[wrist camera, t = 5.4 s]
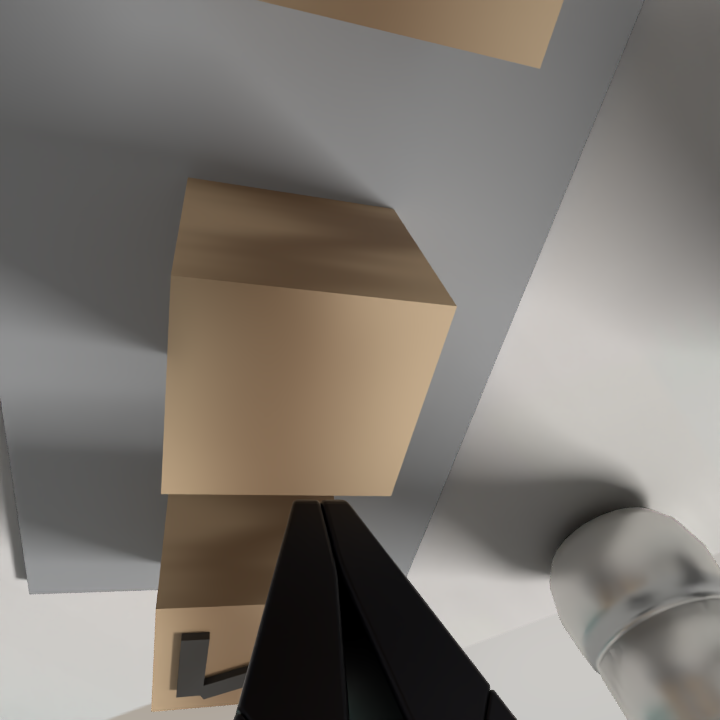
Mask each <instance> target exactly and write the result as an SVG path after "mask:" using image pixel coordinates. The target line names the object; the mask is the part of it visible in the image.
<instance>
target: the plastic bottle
mask: <svg viewBox="0 0 720 720" xmlns="http://www.w3.org/2000/svg"><path fill="white" fill-rule="evenodd" d="M550 590H551V593H552V596H553V599H554V602H555V606H556V609H557V612H558V615H559V618H560V620H561V622H562V624H563V626H564V628H565V629H566V631H567V632H568V634H569V635H570V637H571V638H572V640H573V641H574V643H575V644H576V646H577V647H578V649H579V650H580V652H581V653H582V655H583V656H584V657H585V658H586V660H587V661H588V662H589V663H590V665H591V666H592V667H593V668H594V670H595V671H596V672H598V673H599V674H600V675H601V677H602V679H603V681H604V682H605V684H606V686H607V687H608V689H609V691H610V692H611V694H612V696H613V697H614V699H615V700H616V702H617V704H618V705H619V707H620V709H621V710H622V712H623V713H624V715H625V716H626V718H627V720H720V568H719V566H718V565H717V563H716V561H715V560H714V558H713V557H712V555H711V553H710V552H709V550H708V549H707V547H706V546H705V545H704V544H703V543H702V542H701V541H700V540H699V539H698V538H697V537H696V536H694V535H693V534H692V533H691V532H690V531H689V530H688V529H687V528H685V527H684V526H683V525H682V524H681V523H680V522H679V521H677V520H676V519H675V518H673V517H671V516H668V515H665V514H662V513H659V512H656V511H654V510H651V509H648V508H641V507H632V508H624V509H619V510H615V511H612V512H609V513H606V514H603V515H601V516H599V517H597V518H594V519H592V520H591V521H589V522H587V523H586V524H584V525H582V526H581V527H579V528H578V529H577V530H576V531H574V532H573V533H572V534H571V535H570V536H569V537H568V538H567V539H566V540H565V541H564V542H563V543H562V544H561V545H560V547H559V548H558V549H557V551H556V553H555V555H554V557H553V561H552V566H551V574H550Z"/></svg>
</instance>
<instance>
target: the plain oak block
mask: <svg viewBox="0 0 720 720" xmlns="http://www.w3.org/2000/svg"><path fill="white" fill-rule="evenodd" d="M456 308H457V305H456V304H455V302H454V301H453V299H452V298H451V296H450V295H449V293H448V292H447V290H446V289H445V287H444V285H443V284H442V282H441V281H440V279H439V278H438V276H437V275H436V273H435V272H434V270H433V269H432V267H431V266H430V264H429V262H428V261H427V259H426V258H425V256H424V255H423V253H422V252H421V250H420V249H419V247H418V246H417V244H416V242H415V241H414V239H413V238H412V236H411V235H410V233H409V232H408V230H407V229H406V227H405V226H404V224H403V222H402V221H401V219H400V218H399V216H398V215H397V213H396V212H395V210H394V209H391V208H384V207H378V206H371V205H365V204H358V203H352V202H345V201H339V200H332V199H326V198H319V197H313V196H306V195H300V194H293V193H287V192H280V191H274V190H267V189H261V188H254V187H248V186H241V185H235V184H228V183H222V182H215V181H209V180H202V179H196V178H189V177H188V179H187V185H186V190H185V196H184V202H183V208H182V214H181V219H180V225H179V231H178V237H177V242H176V248H175V254H174V260H173V265H172V271H171V282H170V304H169V327H168V349H167V371H166V394H165V416H164V439H163V461H162V483H161V494H212V495H318V496H391V495H392V492H393V489H394V486H395V483H396V480H397V477H398V474H399V472H400V469H401V466H402V463H403V460H404V457H405V454H406V452H407V449H408V446H409V443H410V440H411V437H412V434H413V431H414V429H415V426H416V423H417V420H418V417H419V414H420V411H421V408H422V406H423V403H424V400H425V397H426V394H427V391H428V388H429V386H430V383H431V380H432V377H433V374H434V371H435V368H436V365H437V363H438V360H439V357H440V354H441V351H442V348H443V345H444V343H445V340H446V337H447V334H448V331H449V328H450V325H451V322H452V320H453V317H454V314H455V311H456Z"/></svg>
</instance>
